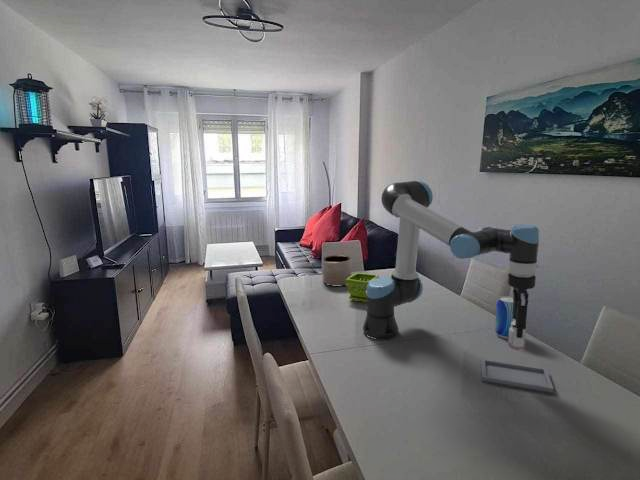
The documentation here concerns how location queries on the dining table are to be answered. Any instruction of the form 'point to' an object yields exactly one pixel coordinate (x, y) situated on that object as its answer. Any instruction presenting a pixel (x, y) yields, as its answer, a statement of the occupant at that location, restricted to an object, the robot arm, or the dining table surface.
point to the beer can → (504, 316)
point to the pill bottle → (511, 338)
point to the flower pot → (359, 286)
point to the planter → (336, 269)
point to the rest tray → (516, 376)
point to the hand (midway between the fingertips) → (517, 341)
